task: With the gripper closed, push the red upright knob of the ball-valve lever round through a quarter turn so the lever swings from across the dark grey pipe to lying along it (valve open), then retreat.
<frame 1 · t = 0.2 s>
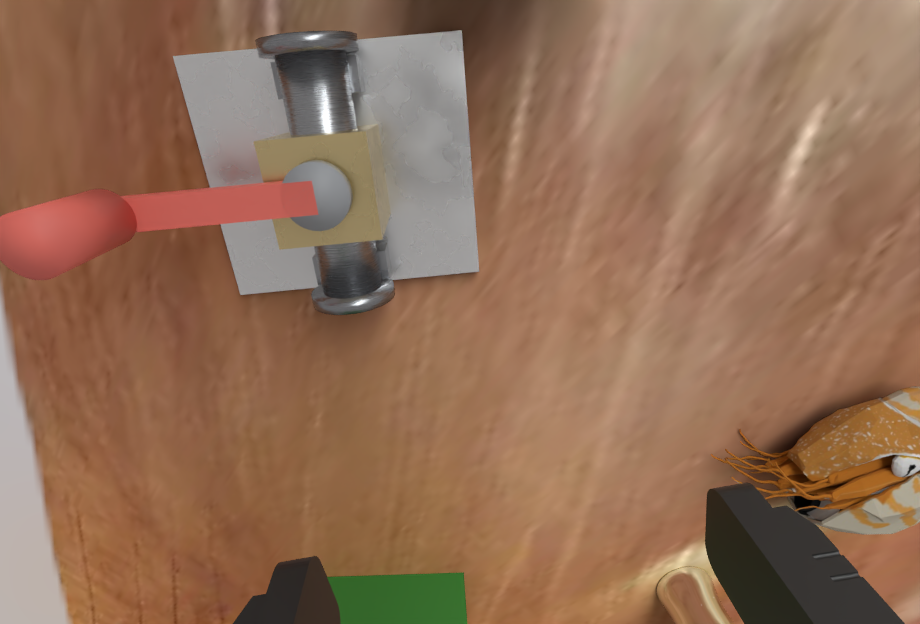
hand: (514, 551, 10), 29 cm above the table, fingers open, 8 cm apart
hardback book: (379, 598, 53), on the table
lever: (196, 216, 24), point 12 cm above the table, hinge at 0.0°
valve body: (343, 172, 35), on the table
beer glass: (682, 583, 55), on the table
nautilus: (813, 432, 47), on the table
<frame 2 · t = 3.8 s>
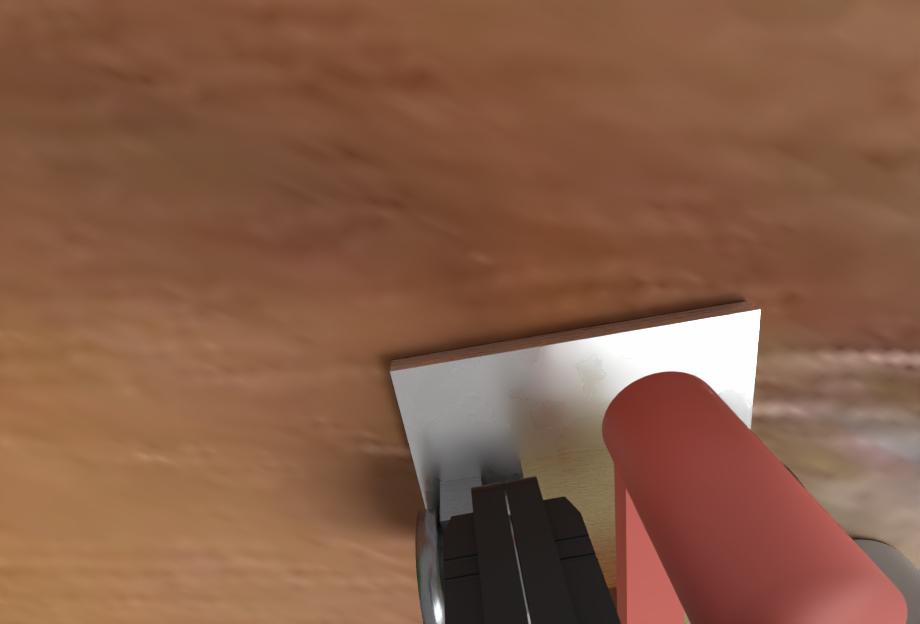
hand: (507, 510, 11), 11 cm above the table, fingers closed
mug: (818, 605, 31), on the table
valve body: (581, 484, 26), on the table
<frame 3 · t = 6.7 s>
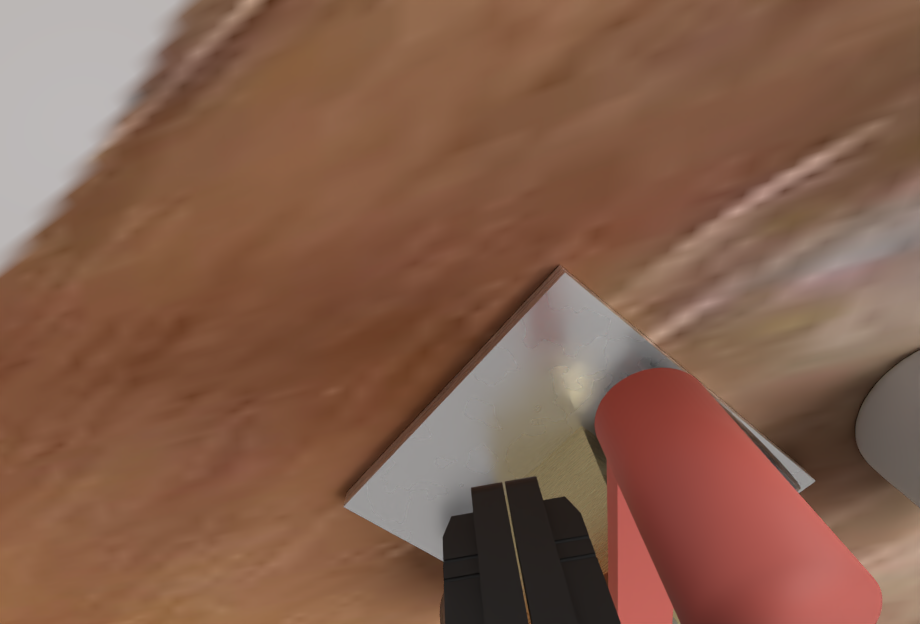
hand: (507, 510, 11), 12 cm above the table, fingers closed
valve body: (576, 479, 26), on the table
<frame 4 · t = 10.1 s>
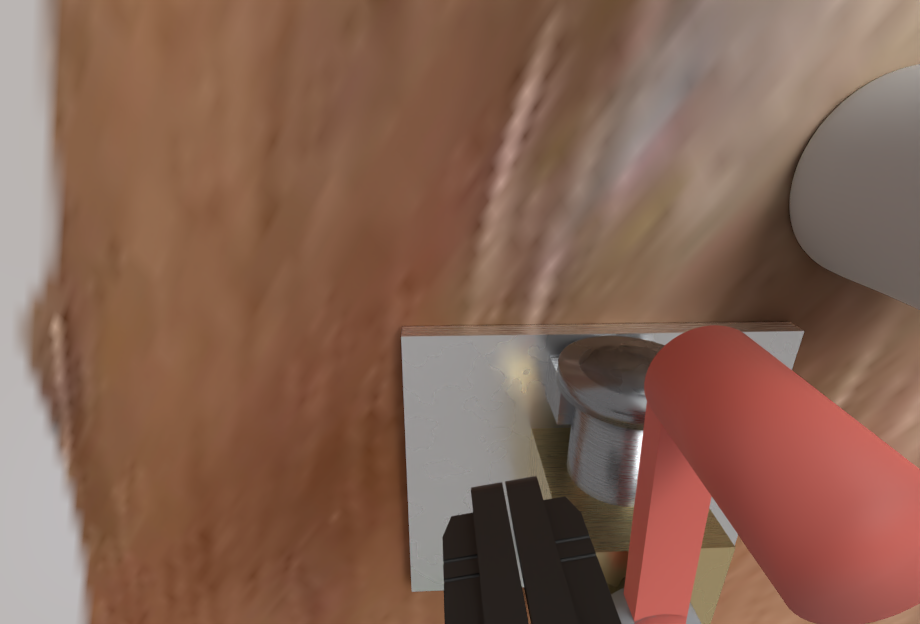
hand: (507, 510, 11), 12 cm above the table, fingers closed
lever: (710, 603, 13), point 12 cm above the table, hinge at 86.4°
mug: (916, 190, 21), on the table
valve body: (580, 462, 26), on the table
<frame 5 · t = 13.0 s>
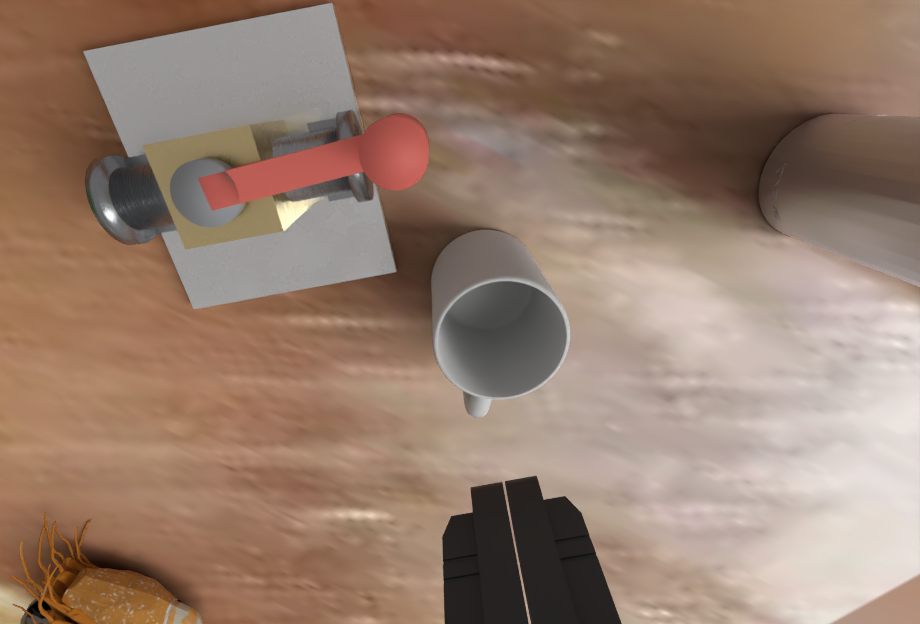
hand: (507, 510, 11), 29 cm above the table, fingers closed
lever: (288, 176, 25), point 12 cm above the table, hinge at 86.4°
mug: (479, 299, 41), on the table
valve body: (259, 170, 36), on the table
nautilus: (127, 573, 51), on the table
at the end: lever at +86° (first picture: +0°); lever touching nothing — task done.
